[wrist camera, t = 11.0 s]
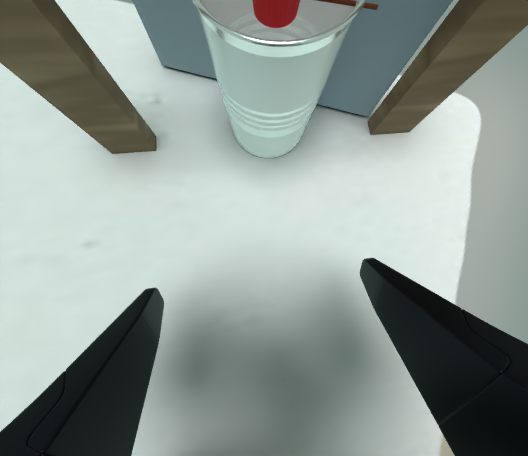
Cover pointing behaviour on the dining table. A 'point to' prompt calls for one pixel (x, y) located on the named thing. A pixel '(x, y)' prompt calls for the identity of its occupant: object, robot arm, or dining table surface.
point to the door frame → (141, 136)
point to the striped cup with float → (274, 63)
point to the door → (348, 58)
